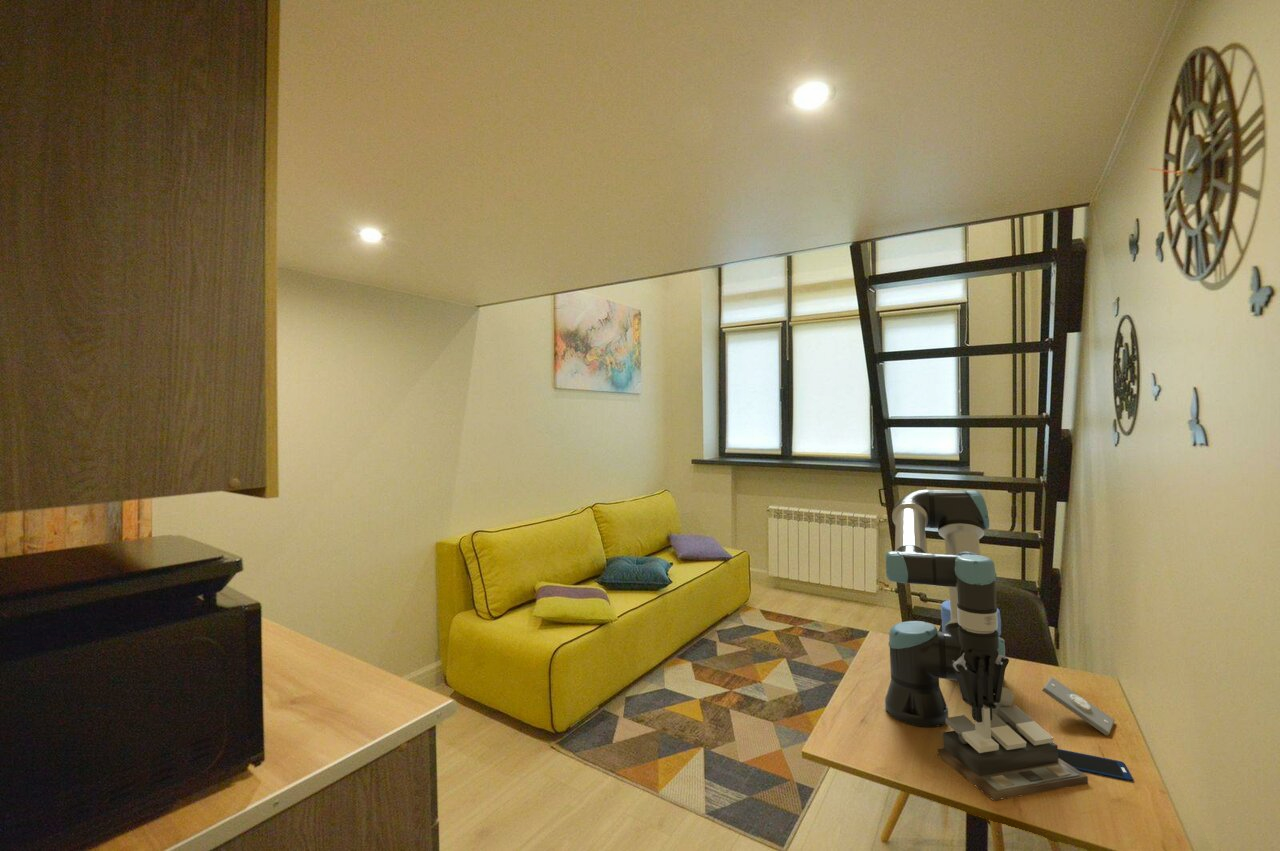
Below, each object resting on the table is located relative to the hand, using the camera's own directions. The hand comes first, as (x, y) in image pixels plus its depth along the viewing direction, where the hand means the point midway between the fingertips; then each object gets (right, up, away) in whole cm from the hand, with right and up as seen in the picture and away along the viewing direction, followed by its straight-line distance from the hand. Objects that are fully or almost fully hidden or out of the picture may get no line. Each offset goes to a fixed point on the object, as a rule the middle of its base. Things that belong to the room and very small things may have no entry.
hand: (983, 734), depth 119 cm
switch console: (+7, -9, +2) cm, 11 cm away
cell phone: (+25, -8, +2) cm, 26 cm away
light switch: (+37, -8, +20) cm, 43 cm away
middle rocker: (+6, -3, +5) cm, 8 cm away
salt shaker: (+14, -8, +17) cm, 23 cm away
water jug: (+26, -8, +46) cm, 53 cm away
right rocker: (+13, -3, +6) cm, 15 cm away
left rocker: (-1, -3, +3) cm, 5 cm away
